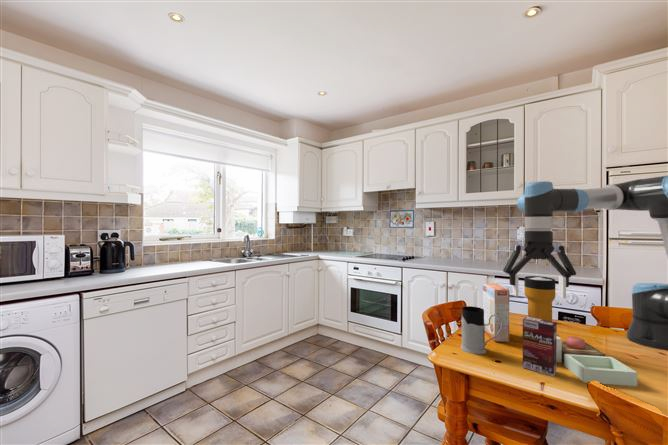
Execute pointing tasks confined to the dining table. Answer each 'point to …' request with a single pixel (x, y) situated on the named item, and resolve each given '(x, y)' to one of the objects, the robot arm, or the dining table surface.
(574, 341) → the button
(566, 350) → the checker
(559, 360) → the open box
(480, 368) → the dining table surface
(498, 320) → the cracker box
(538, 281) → the flashlight
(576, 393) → the dining table surface
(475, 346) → the glass holder
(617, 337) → the dining table surface
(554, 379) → the dining table surface
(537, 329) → the supplement box
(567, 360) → the trough
